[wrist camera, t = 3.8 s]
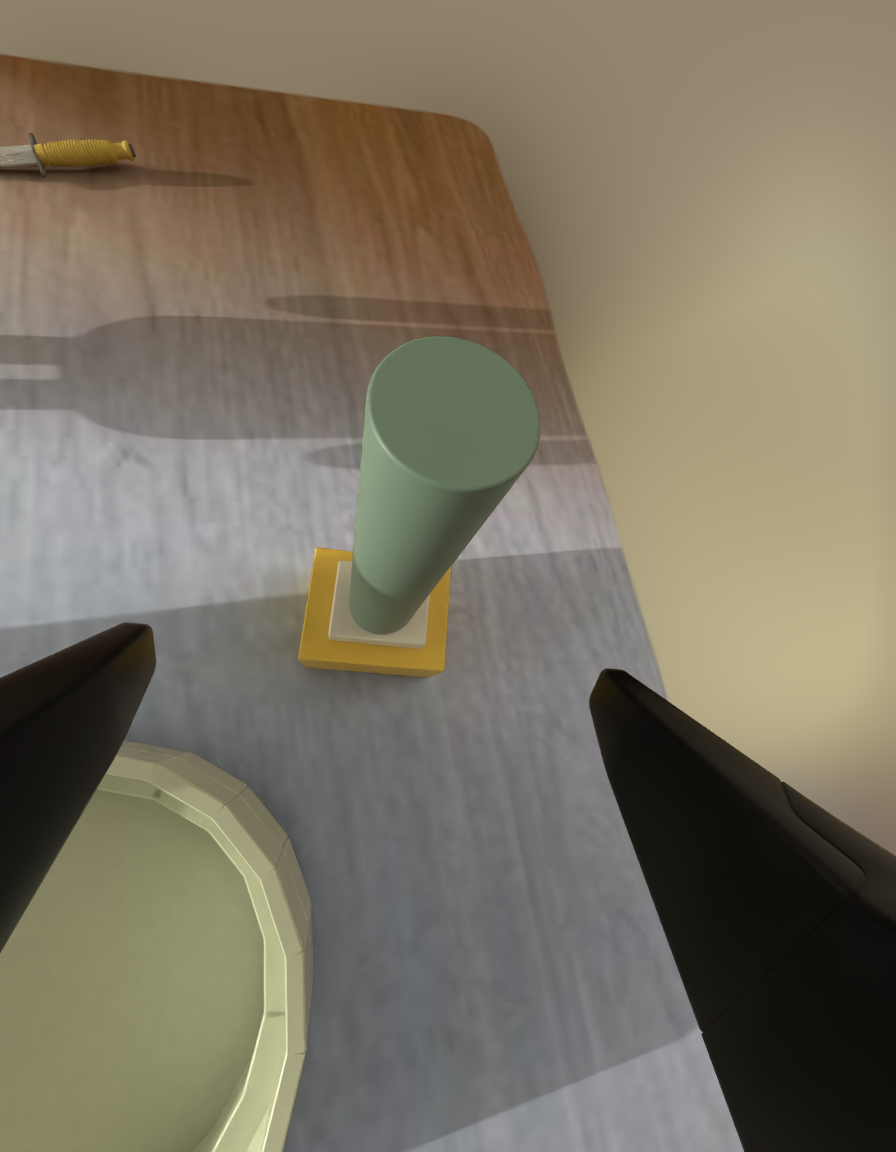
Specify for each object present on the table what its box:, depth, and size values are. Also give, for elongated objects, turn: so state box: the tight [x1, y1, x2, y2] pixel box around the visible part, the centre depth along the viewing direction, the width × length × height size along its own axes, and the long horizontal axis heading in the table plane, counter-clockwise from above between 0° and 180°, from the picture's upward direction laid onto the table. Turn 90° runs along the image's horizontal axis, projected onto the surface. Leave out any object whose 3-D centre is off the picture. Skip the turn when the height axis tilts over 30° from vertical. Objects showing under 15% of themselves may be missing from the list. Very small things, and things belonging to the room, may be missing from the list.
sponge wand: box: [298, 336, 540, 678], centre depth 12 cm, size 5×4×14 cm
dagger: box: [0, 133, 136, 178], centre depth 21 cm, size 11×1×2 cm
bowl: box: [0, 741, 313, 1152], centre depth 12 cm, size 14×14×4 cm
